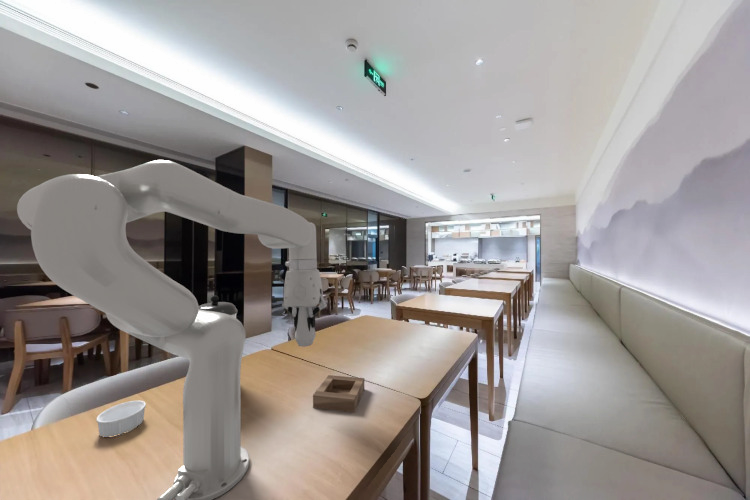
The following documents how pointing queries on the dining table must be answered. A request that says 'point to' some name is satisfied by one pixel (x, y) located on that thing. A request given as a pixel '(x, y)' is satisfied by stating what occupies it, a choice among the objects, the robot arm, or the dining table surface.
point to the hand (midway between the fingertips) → (304, 329)
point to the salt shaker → (304, 329)
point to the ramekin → (121, 418)
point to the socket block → (339, 393)
